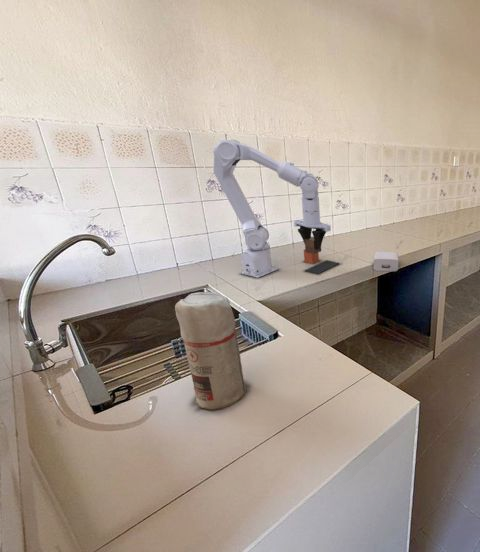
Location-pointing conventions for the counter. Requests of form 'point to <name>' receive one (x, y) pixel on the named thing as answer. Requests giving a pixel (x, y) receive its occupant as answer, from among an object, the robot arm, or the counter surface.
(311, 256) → the orange block
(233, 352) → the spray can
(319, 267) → the small dark keyboard
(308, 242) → the brown block
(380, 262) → the charger
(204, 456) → the counter surface
